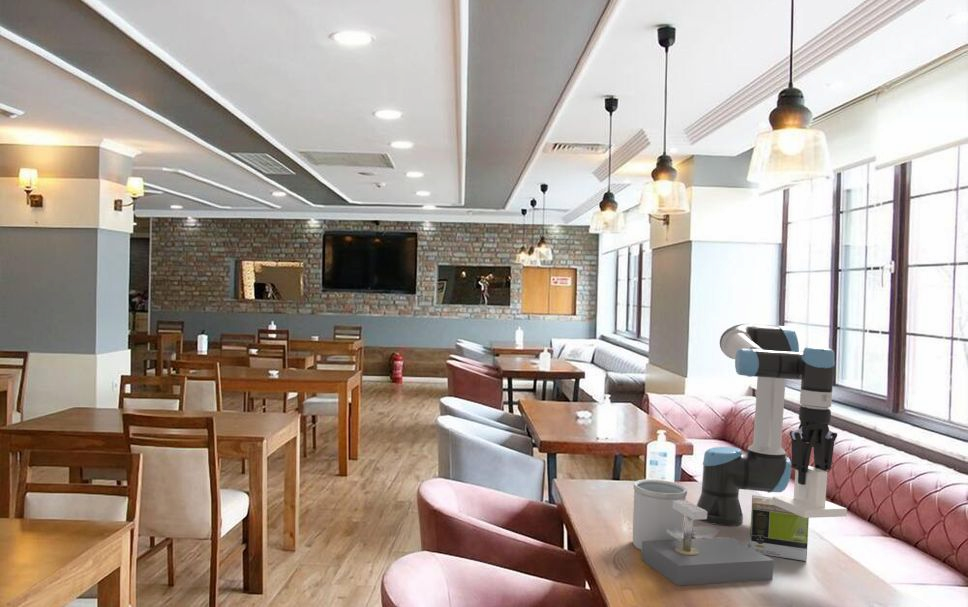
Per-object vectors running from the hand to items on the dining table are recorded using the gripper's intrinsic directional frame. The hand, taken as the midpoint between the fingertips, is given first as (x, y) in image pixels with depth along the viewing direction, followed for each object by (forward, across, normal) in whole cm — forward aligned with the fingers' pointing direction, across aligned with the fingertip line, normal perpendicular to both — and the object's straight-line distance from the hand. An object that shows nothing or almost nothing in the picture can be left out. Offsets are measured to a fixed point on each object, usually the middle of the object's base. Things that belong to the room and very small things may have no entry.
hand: (809, 496), depth 192 cm
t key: (+16, -29, +12) cm, 35 cm away
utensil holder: (+22, -27, +28) cm, 45 cm away
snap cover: (+4, 0, 0) cm, 4 cm away
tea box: (+22, +7, +19) cm, 30 cm away
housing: (+22, -23, +10) cm, 33 cm away
